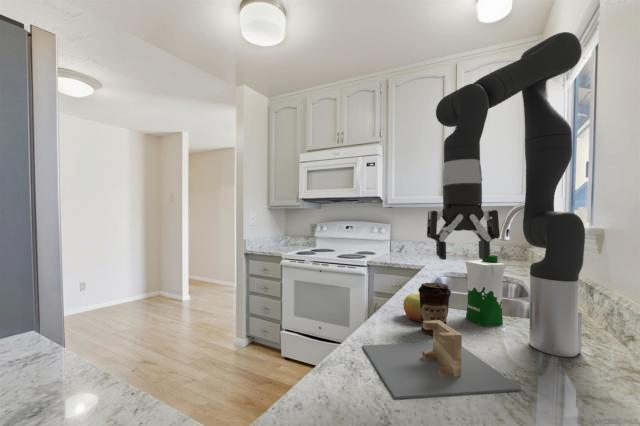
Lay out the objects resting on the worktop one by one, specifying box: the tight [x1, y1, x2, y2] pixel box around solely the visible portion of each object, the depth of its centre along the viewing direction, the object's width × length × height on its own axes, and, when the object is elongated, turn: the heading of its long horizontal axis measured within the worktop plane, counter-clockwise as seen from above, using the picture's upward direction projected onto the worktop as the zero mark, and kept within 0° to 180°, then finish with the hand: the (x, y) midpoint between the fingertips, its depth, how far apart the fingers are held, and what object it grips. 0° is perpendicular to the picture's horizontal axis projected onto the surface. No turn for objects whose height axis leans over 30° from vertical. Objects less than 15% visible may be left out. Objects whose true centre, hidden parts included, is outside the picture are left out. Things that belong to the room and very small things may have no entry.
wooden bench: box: [422, 320, 463, 377], centre depth 61 cm, size 4×8×8 cm, turn 8°
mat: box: [362, 342, 522, 400], centre depth 62 cm, size 24×20×1 cm
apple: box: [403, 293, 421, 323], centre depth 90 cm, size 10×10×8 cm
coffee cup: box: [418, 282, 452, 336], centre depth 80 cm, size 9×8×13 cm
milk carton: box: [464, 254, 506, 327], centre depth 90 cm, size 9×9×20 cm
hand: (462, 259), depth 63 cm, fingers open, 8 cm apart
